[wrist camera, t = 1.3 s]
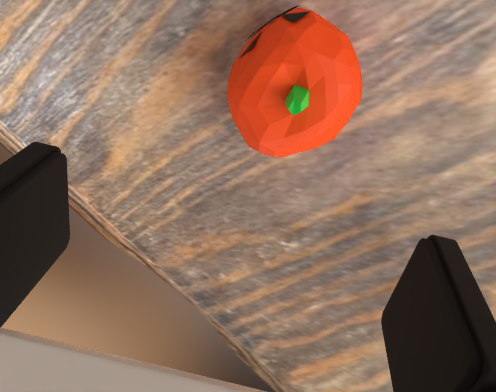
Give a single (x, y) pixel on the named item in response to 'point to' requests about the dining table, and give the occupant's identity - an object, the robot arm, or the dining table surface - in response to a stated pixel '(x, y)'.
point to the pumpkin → (294, 84)
